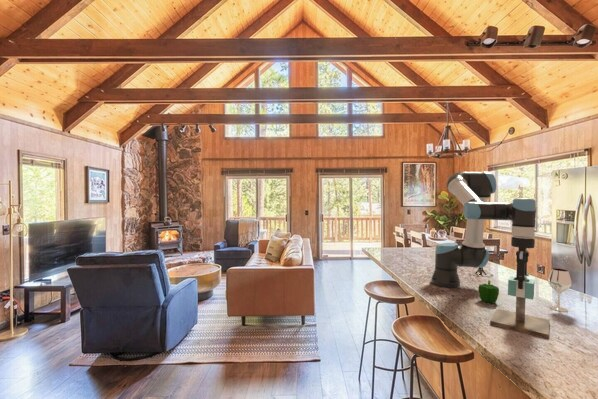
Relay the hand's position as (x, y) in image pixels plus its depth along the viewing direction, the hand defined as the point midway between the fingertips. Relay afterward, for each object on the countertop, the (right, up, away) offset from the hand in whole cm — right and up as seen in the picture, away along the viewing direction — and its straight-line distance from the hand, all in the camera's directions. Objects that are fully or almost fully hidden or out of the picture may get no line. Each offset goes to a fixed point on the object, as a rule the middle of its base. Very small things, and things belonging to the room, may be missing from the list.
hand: (521, 294), depth 124 cm
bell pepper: (+3, -12, +26) cm, 29 cm away
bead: (0, 0, 0) cm, 0 cm away
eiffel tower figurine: (+30, -12, +79) cm, 85 cm away
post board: (0, -12, 0) cm, 12 cm away
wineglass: (+30, -13, +18) cm, 37 cm away
